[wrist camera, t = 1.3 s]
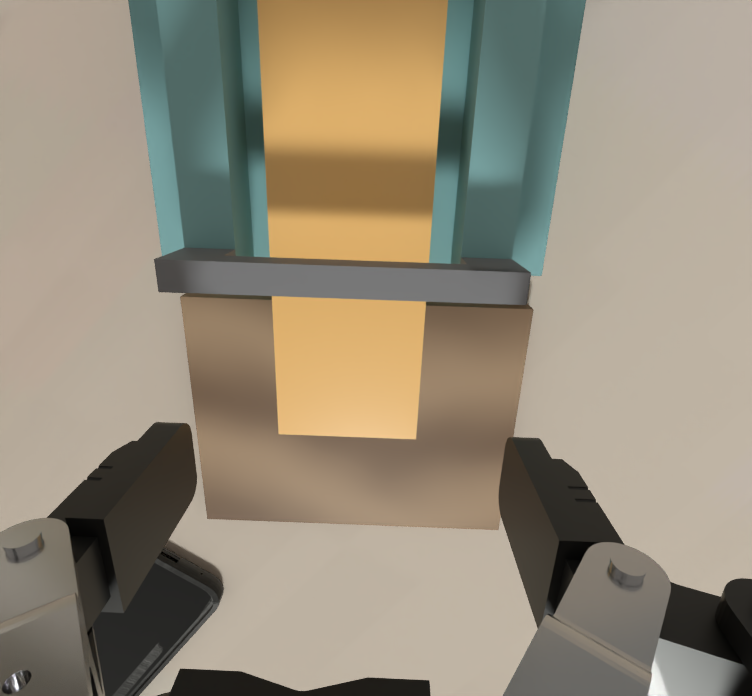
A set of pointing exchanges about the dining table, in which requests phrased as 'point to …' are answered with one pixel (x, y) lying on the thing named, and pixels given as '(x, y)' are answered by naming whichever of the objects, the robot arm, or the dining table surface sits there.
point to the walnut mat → (356, 454)
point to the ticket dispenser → (453, 164)
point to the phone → (154, 624)
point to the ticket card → (350, 199)
